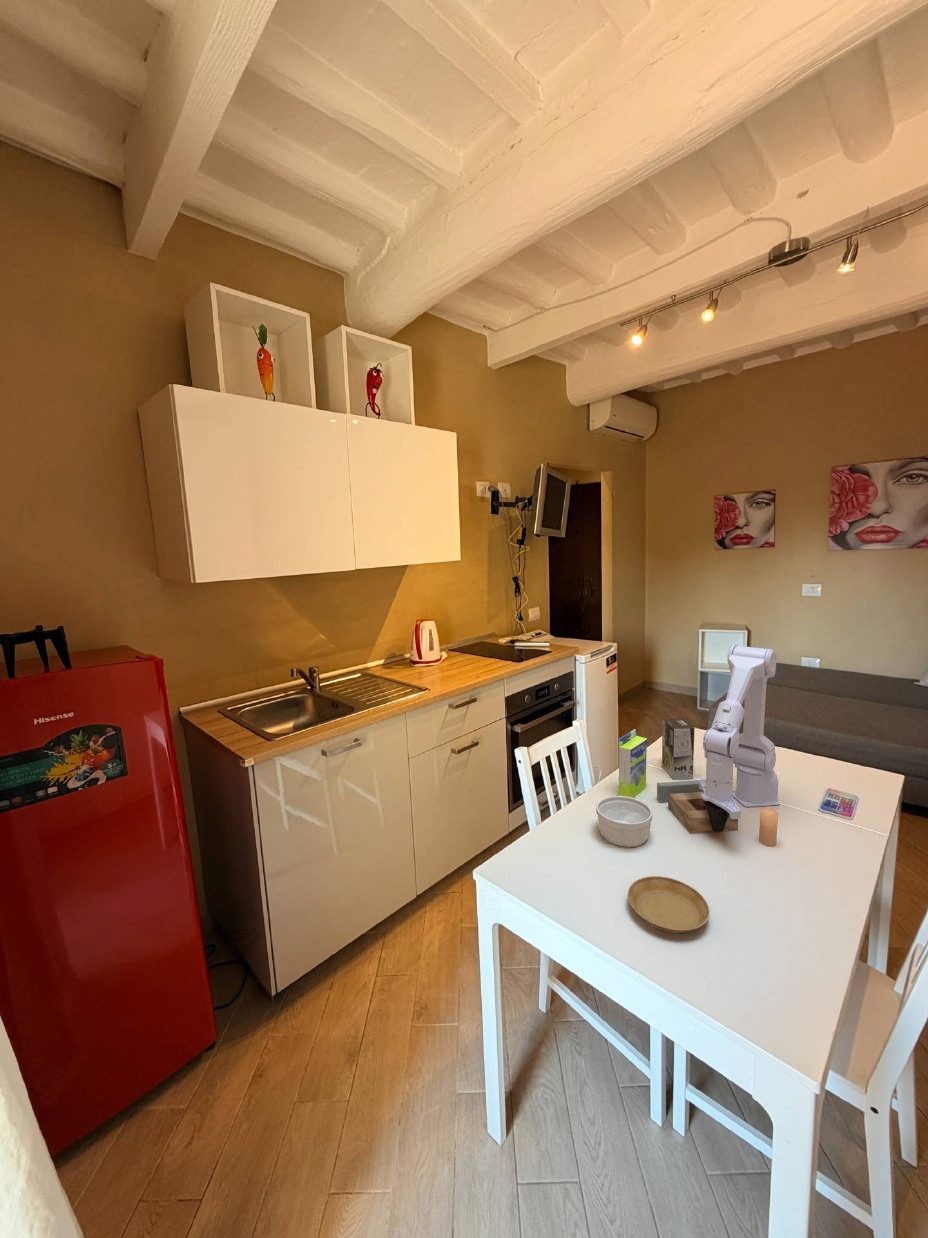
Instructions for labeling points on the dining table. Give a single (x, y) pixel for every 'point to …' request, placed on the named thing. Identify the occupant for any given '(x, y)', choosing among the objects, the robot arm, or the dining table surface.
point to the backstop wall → (676, 789)
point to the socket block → (694, 813)
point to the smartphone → (839, 804)
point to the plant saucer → (668, 904)
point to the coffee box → (678, 748)
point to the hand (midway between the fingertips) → (717, 830)
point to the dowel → (768, 826)
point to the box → (632, 764)
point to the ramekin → (624, 820)
